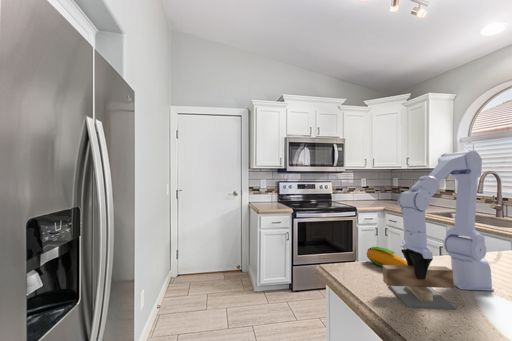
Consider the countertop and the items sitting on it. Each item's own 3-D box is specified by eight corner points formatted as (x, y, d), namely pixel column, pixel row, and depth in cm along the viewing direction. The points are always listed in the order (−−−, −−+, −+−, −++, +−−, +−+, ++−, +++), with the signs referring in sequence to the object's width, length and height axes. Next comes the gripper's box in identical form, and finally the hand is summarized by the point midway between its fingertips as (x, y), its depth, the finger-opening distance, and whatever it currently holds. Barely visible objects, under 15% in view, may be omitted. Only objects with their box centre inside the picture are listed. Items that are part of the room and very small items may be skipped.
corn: (374, 242, 112) (416, 253, 93) (376, 259, 112) (418, 273, 93) (361, 244, 110) (401, 257, 91) (363, 262, 109) (403, 278, 90)
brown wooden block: (446, 283, 76) (445, 266, 76) (453, 288, 72) (452, 270, 72) (383, 281, 78) (382, 264, 79) (387, 285, 75) (386, 268, 75)
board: (428, 287, 81) (427, 285, 81) (455, 309, 67) (455, 306, 67) (388, 286, 83) (388, 283, 83) (407, 306, 69) (407, 303, 69)
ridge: (416, 289, 80) (415, 278, 80) (433, 304, 70) (432, 291, 70) (405, 289, 80) (405, 278, 80) (421, 304, 70) (420, 291, 70)
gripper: (391, 226, 84) (393, 267, 83) (411, 235, 69) (414, 285, 69) (414, 226, 83) (416, 268, 82) (439, 235, 68) (442, 286, 68)
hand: (417, 276), depth 75 cm, fingers closed on brown wooden block, 3 cm apart
